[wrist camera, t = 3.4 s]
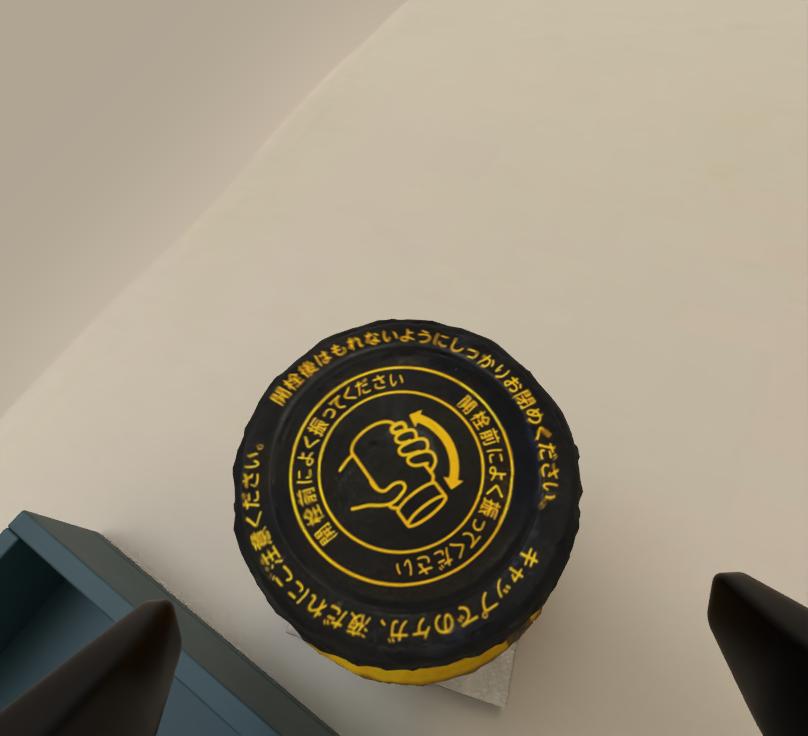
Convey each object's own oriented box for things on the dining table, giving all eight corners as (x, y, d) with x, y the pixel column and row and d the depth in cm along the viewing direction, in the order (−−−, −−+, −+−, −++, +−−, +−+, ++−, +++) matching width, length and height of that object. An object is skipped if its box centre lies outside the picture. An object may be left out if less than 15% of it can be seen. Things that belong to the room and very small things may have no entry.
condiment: (286, 632, 17) (67, 636, 7) (367, 404, 21) (309, 167, 10) (504, 708, 16) (663, 861, 5) (550, 453, 20) (701, 244, 9)
